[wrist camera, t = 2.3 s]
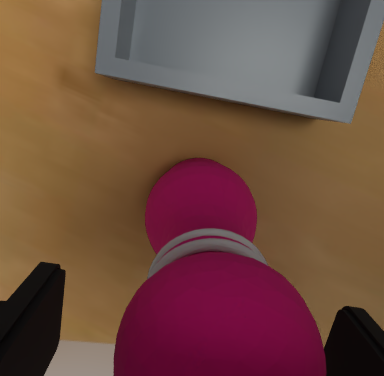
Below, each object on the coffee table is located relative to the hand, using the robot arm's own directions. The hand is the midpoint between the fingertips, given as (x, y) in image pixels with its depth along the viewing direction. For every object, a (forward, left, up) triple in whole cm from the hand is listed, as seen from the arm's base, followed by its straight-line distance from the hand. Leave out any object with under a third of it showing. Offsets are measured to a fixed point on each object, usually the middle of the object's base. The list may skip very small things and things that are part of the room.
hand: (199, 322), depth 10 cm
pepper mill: (-1, 0, -15) cm, 15 cm away
